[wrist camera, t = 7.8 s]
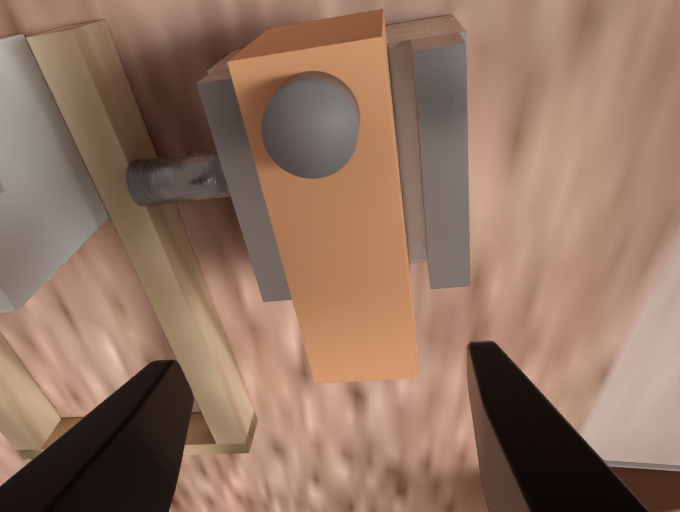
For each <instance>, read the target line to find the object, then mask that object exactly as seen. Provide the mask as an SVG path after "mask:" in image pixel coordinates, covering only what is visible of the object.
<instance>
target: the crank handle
mask: <svg viewBox="0 0 680 512" xmlns="http://www.w3.org/2000/svg"><path fill="white" fill-rule="evenodd" d="M227 63H228V66H229V70H230V74H231V77H232V81H233V85H234V88H235V92H236V96H237V99H238V103H239V107H240V110H241V114H242V118H243V121H244V125H245V129H246V132H247V136H248V140H249V143H250V147H251V151H252V154H253V158H254V162H255V165H256V169H257V173H258V176H259V180H260V184H261V187H262V191H263V195H264V198H265V202H266V206H267V209H268V213H269V217H270V220H271V224H272V227H273V231H274V235H275V238H276V242H277V246H278V249H279V253H280V257H281V260H282V264H283V268H284V271H285V275H286V279H287V282H288V286H289V290H290V293H291V297H292V301H293V304H294V308H295V312H296V315H297V319H298V323H299V326H300V330H301V334H302V337H303V341H304V345H305V348H306V352H307V356H308V359H309V363H310V367H311V370H312V374H313V378H314V381H315V383H330V382H349V381H368V380H388V379H407V378H419V376H418V363H417V349H416V335H415V321H414V307H413V293H412V283H411V273H410V263H409V254H408V244H407V234H406V225H405V215H404V205H403V195H402V186H401V176H400V166H399V156H398V147H397V137H396V127H395V118H394V108H393V98H392V88H391V79H390V69H389V59H388V49H387V40H386V30H385V20H384V11H383V9H380V10H374V11H368V12H362V13H357V14H351V15H345V16H339V17H333V18H327V19H321V20H315V21H310V22H304V23H298V24H292V25H286V26H280V27H274V28H269V29H268V30H266V31H265V32H264V33H263V34H261V35H260V36H259V37H258V38H256V39H255V40H254V41H253V42H251V43H250V44H249V45H248V46H246V47H245V48H244V49H243V50H241V51H240V52H239V53H238V54H236V55H235V56H234V57H233V58H231V59H230V60H229V61H227Z"/></svg>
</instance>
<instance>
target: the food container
mask: <svg viewBox="0 0 680 512" xmlns="http://www.w3.org/2000/svg"><path fill="white" fill-rule="evenodd" d="M604 462H605V463H606V464H607V465H608V466H609V467H610V468H611V469H612V470H613V472H614V473H615V474H616V475H617V476H618V477H619V478H620V479H621V480H622V481H623V483H624V484H625V485H626V486H627V487H628V488H629V489H630V490H631V491H632V492H633V493H634V495H635V496H636V497H637V498H638V499H639V500H640V501H641V502H642V503H643V504H644V506H645V507H646V508H647V509H648V510H649V511H650V512H680V466H675V465H660V464H646V463H632V462H618V461H604Z"/></svg>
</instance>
